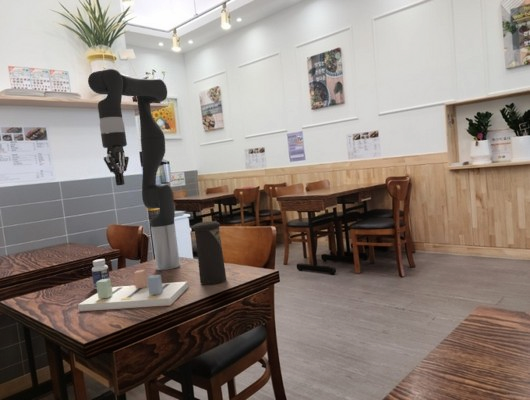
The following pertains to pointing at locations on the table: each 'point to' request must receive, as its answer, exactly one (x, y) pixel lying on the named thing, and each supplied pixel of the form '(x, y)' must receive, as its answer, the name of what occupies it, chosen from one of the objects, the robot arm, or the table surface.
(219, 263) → the container
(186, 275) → the table surface
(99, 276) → the pill bottle
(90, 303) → the panel
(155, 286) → the slate lever
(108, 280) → the sage lever
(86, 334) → the table surface
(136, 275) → the terracotta lever
